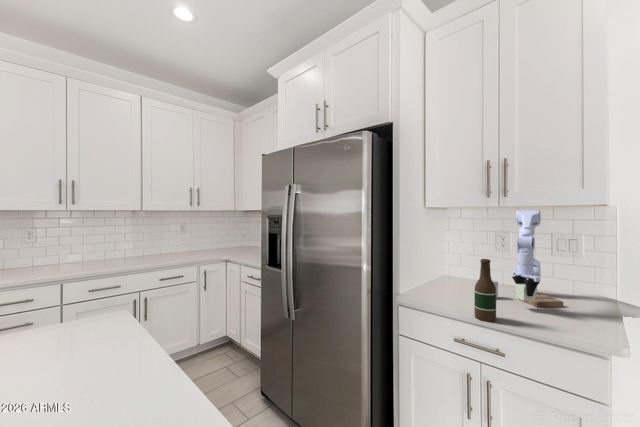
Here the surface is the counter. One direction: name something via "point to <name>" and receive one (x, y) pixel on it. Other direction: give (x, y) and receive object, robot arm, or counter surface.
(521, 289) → the sage block
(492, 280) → the medicine box
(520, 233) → the robot arm
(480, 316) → the beer bottle
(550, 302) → the walnut block
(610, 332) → the counter surface
